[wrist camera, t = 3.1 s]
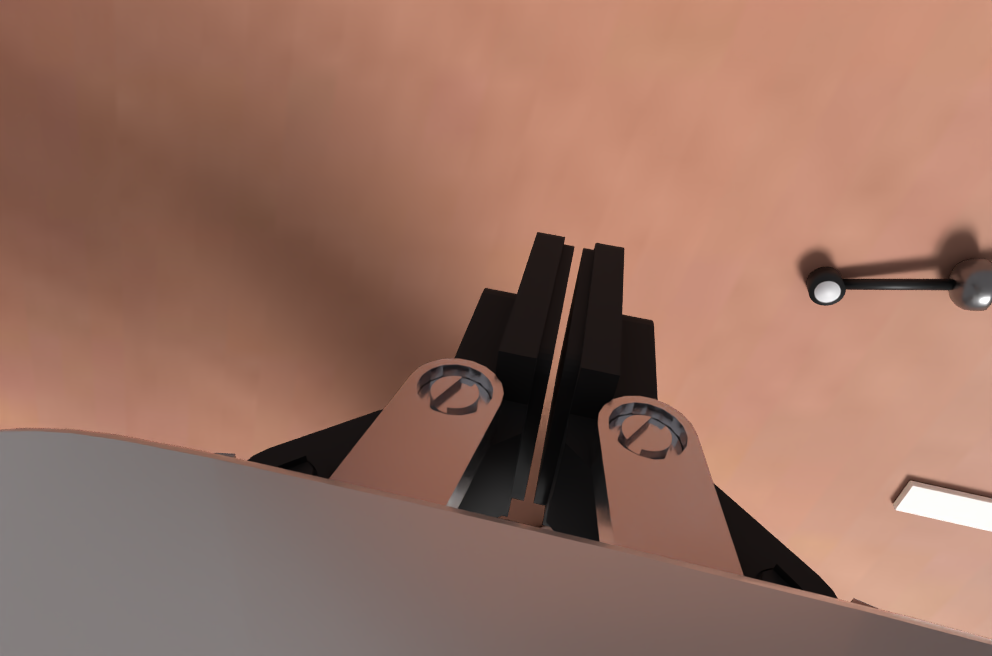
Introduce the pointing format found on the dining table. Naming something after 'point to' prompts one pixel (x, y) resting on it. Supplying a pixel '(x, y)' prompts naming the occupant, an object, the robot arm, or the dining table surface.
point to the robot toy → (911, 285)
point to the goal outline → (946, 505)
